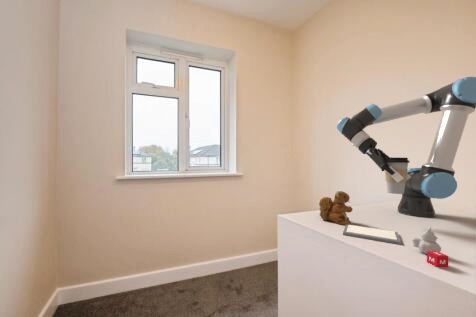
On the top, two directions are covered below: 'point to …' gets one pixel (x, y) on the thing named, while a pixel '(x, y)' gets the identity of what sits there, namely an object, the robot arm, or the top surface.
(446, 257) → the dice
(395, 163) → the coffee cup
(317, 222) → the top surface
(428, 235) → the light grey lumpy piece
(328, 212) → the stuffed squirrel
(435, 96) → the robot arm
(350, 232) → the picture frame
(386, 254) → the top surface
